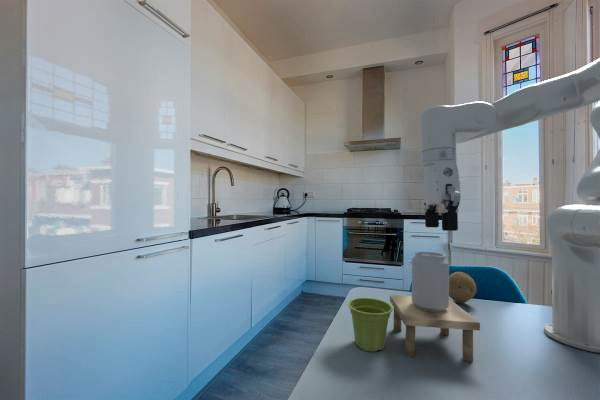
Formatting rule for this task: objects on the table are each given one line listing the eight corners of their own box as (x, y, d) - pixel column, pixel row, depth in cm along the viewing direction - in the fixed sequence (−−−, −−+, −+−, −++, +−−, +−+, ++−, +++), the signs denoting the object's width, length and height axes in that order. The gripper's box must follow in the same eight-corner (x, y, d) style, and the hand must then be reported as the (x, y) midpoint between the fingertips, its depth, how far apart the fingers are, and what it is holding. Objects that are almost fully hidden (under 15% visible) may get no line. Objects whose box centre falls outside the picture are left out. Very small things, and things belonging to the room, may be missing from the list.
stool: (448, 331, 65) (448, 298, 66) (479, 364, 52) (479, 322, 52) (389, 327, 67) (390, 295, 67) (404, 358, 53) (405, 317, 53)
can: (454, 315, 55) (454, 256, 56) (415, 311, 57) (416, 254, 57) (442, 302, 62) (442, 251, 63) (408, 299, 64) (409, 249, 64)
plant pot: (391, 361, 52) (392, 316, 52) (343, 351, 55) (344, 309, 56) (392, 339, 61) (393, 300, 61) (351, 331, 64) (351, 295, 64)
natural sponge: (478, 311, 79) (479, 277, 79) (444, 305, 83) (444, 273, 83) (474, 301, 87) (474, 270, 87) (443, 297, 91) (443, 267, 91)
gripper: (474, 150, 56) (477, 232, 56) (439, 164, 73) (440, 226, 73) (437, 151, 57) (439, 232, 56) (411, 164, 74) (412, 226, 74)
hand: (440, 228), depth 65 cm, fingers open, 9 cm apart
